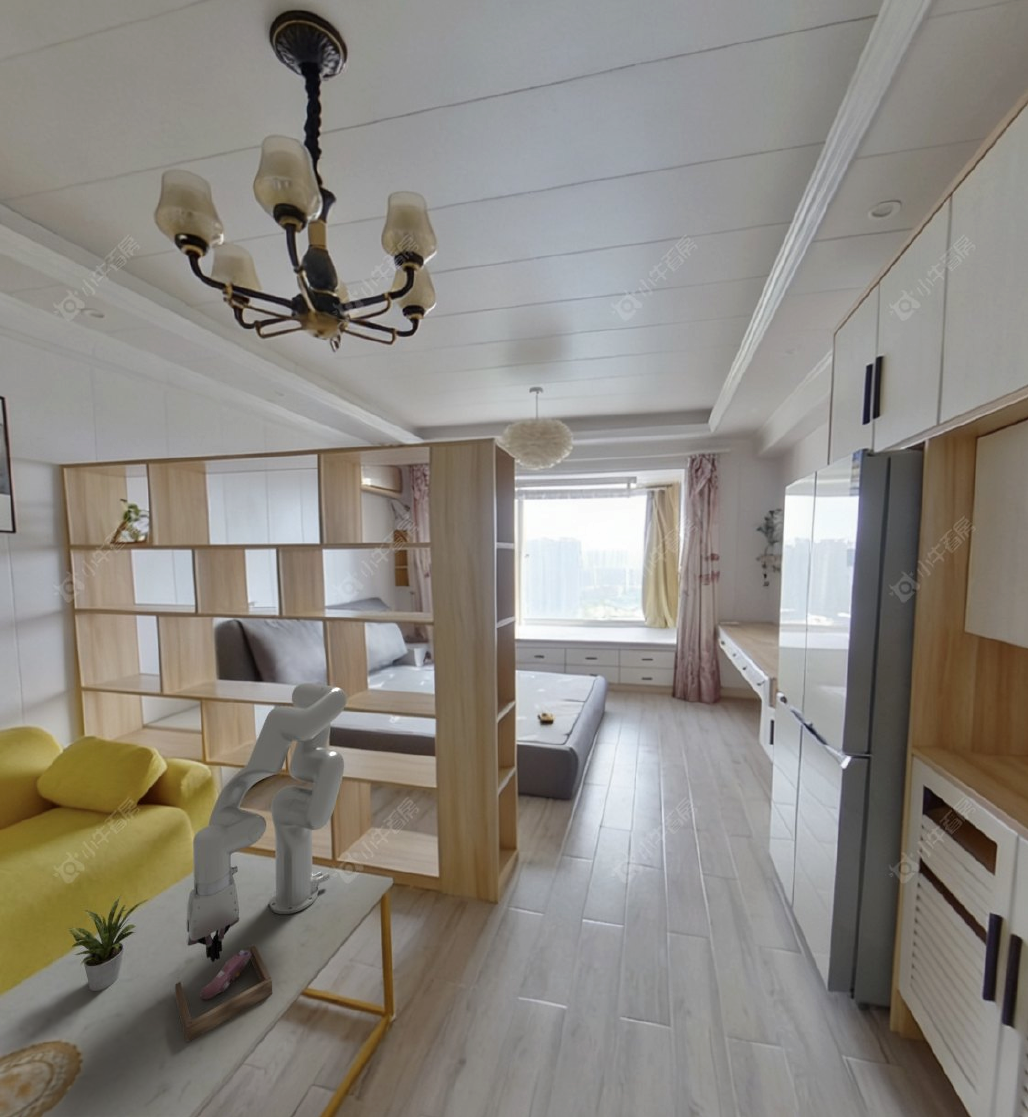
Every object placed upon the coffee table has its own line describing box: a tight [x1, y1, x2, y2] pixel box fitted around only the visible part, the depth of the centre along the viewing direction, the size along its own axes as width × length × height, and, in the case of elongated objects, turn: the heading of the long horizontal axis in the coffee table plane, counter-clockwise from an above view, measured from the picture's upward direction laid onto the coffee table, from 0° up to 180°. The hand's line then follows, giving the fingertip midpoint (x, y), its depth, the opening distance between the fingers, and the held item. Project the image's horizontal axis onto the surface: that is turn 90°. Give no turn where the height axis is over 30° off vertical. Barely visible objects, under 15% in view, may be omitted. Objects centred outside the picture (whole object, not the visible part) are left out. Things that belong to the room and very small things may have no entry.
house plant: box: [68, 894, 148, 992], centre depth 113 cm, size 14×14×16 cm
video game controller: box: [200, 949, 251, 1000], centre depth 111 cm, size 10×5×7 cm, turn 167°
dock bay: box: [174, 944, 273, 1043], centre depth 108 cm, size 16×14×3 cm
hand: (214, 957), depth 116 cm, fingers closed
